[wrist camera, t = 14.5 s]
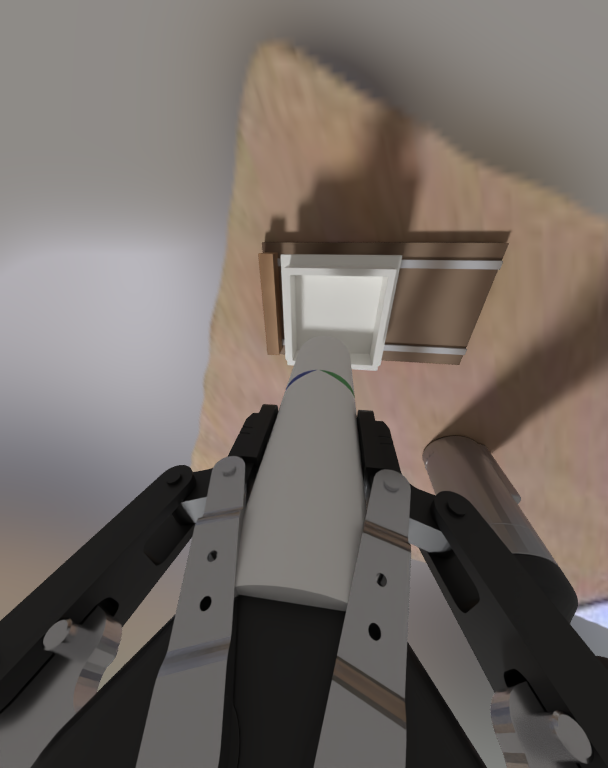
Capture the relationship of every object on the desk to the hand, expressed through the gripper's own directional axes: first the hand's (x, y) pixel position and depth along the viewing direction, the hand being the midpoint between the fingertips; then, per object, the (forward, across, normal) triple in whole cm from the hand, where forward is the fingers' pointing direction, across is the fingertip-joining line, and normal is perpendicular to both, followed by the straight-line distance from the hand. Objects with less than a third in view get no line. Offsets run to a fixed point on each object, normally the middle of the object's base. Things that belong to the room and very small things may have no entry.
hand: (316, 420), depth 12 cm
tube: (+7, 0, 0) cm, 7 cm away
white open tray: (+20, -1, -1) cm, 20 cm away
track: (+22, -5, -1) cm, 22 cm away
